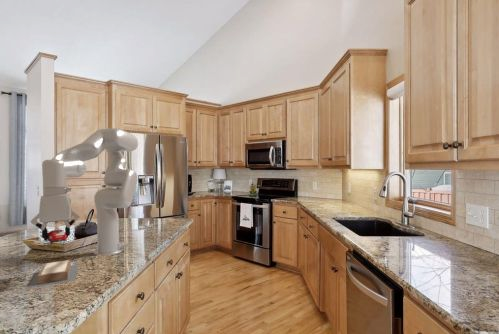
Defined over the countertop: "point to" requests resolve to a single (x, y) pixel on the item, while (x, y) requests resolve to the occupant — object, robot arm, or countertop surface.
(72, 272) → the gray board
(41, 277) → the tan flat block
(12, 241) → the countertop surface
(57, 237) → the race car
